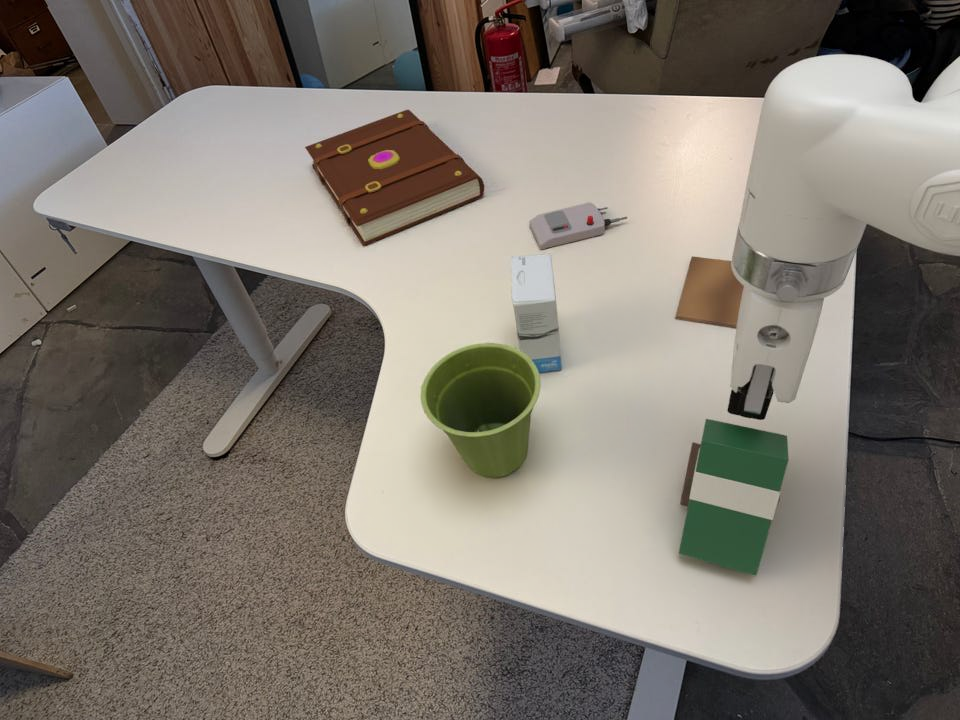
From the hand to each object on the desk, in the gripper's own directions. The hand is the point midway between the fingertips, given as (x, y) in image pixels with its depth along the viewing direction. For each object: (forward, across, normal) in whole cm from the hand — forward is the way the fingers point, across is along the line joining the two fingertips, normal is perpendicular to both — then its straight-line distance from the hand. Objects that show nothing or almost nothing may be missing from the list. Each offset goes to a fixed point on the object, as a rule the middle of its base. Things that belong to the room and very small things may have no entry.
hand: (746, 409), depth 55 cm
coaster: (+9, +25, +3) cm, 27 cm away
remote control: (+9, +35, +27) cm, 45 cm away
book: (+9, +43, +63) cm, 77 cm away
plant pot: (+9, -6, +24) cm, 26 cm away
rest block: (+9, -4, 0) cm, 10 cm away
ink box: (+9, +10, +24) cm, 28 cm away
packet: (+9, -9, 0) cm, 12 cm away
